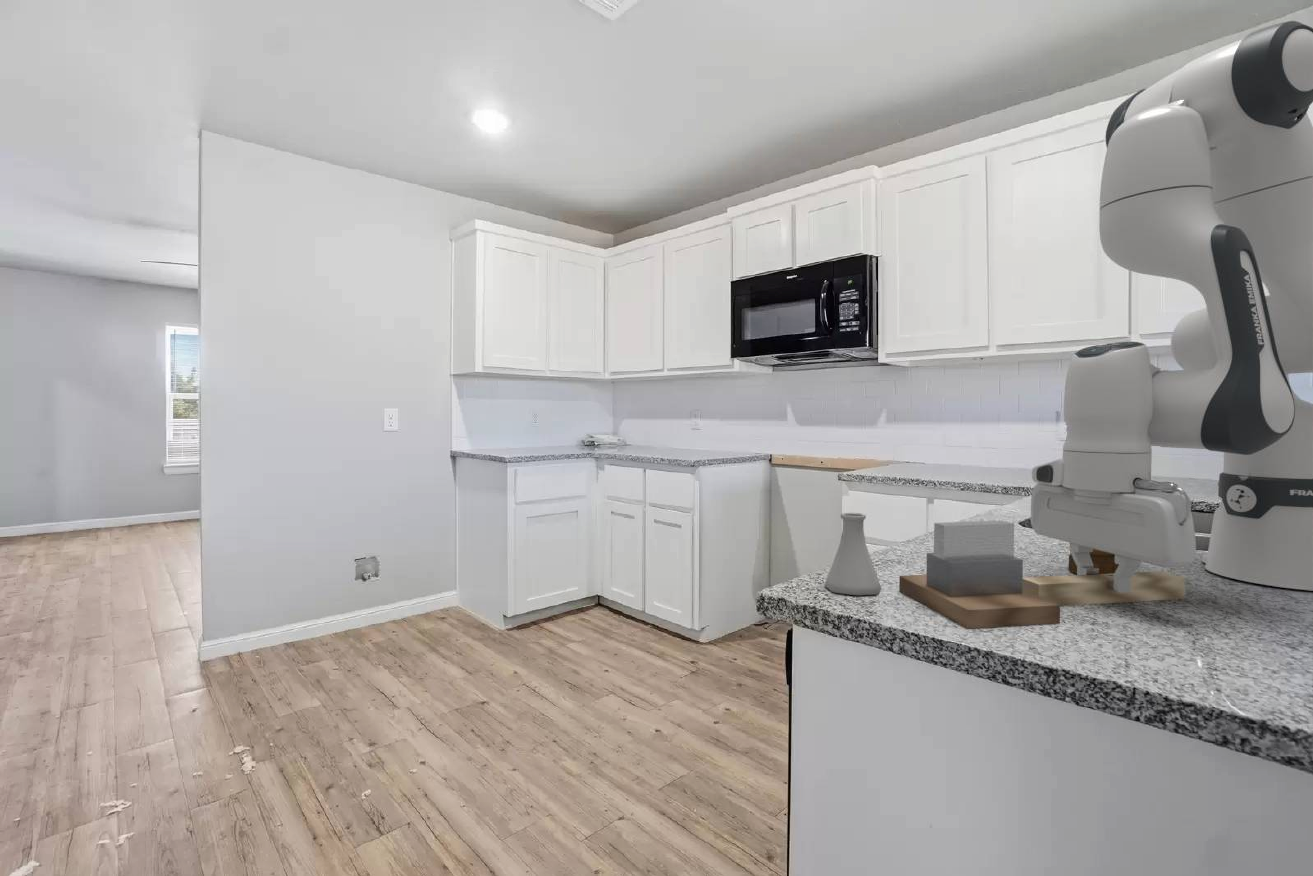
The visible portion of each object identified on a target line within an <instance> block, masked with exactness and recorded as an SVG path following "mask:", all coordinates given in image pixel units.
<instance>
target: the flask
mask: <svg viewBox="0 0 1313 876" xmlns="http://www.w3.org/2000/svg"><path fill="white" fill-rule="evenodd" d="M866 517H867V515H866V514H864V513H862V512H842V513H840V519H842V529H841V531H842V532H841V534H840V535H841V537H840V541H839V545H838V548H837V551H836V554H835V556H834V559H833V562H832V565H831V567H830V570H829V572H828V575H827V577H826V580H825V583H824V587H825V588H827V589H828V590H829V591H831V592H833V593H837V594H844V595H845V594H846V595H851V596H864V595H865V596H866V595H868V596H869V595H870V596H871V595H878V594H879V593H880V591H881V590H882V587H881V586H882V585H881V584H880V580H879V577H878V575H877V572H876V570H875V566H874V564H873V561H872V558H871V555H870V552H869V549H868V546H867V542H866V538H865V530H864V529H865V528H864V520H865V519H866Z"/></svg>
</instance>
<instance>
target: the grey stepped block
mask: <svg viewBox="0 0 1313 876" xmlns="http://www.w3.org/2000/svg"><path fill="white" fill-rule="evenodd" d="M1023 569H1024V559H1023V558H1018V557H1016V556H1015V523H1013V522H1010V521H1005V520H982V521H980V520H978V521H956V522H953V521H952V522H934V523H933V552H926V575H927V577H926V585H927V586H929V587H931V588H933V589H935V590H937V591H939V592H941V593H943V594H946V595H948V596H950V597H966V596H985V595H1004V594H1022V580H1023V578H1024V577H1023Z"/></svg>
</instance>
